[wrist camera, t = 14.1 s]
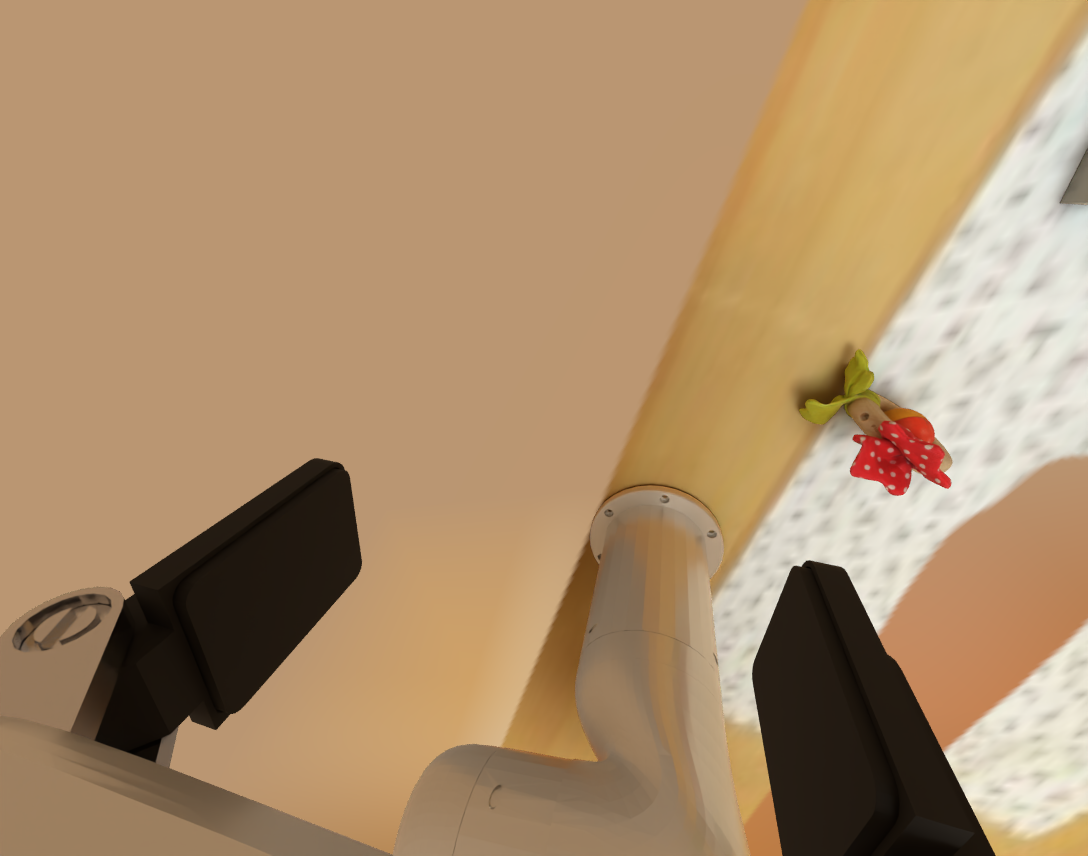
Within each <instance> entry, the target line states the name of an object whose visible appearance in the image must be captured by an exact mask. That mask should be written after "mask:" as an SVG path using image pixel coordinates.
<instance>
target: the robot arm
mask: <svg viewBox="0 0 1088 856" xmlns="http://www.w3.org/2000/svg"><path fill="white" fill-rule="evenodd" d="M663 495H666V496H663ZM609 509H610V510H609ZM590 545H591V549H592V552H593V555H594V557H595V559H596V561H597V563H598V564H599V569H598V574H597V578H596V583H595V588H594V593H593V597H592V602H591V607H590V612H589V617H588V621H587V626H586V631H585V636H584V640H583V645H582V650H581V655H580V659H579V665H578V670H577V675H576V682H575V700H576V706H577V712H578V716H579V719H580V722H581V725H582V728H583V730H584V733H585V735H586V737H587V739H588V741H589V744H590V746H591V748H592V750H593V752H594V753H595V755H596V757H597V759H598V762H593V761H585V760H578V759H574V760H571V759H565V758H560V757H554V756H549V755H543V754H537V753H532V752H526V751H521V750H515V749H510V748H502V747H496V746H488V745H477V744H467V745H461V746H456V747H454V748H451V749H448V750H446V751H445V752H443V753H442V754H440V755H439V756H438V757H436V758H435V759H434V760H433V761H432V762H431V763H430V765H429V766H428V767H427V768H426V769H425V771H424V772H423V774H422V775H421V777H420V779H419V780H418V782H417V784H416V785H415V787H414V789H413V791H412V794H411V796H410V798H409V801H408V803H407V806H406V808H405V811H404V814H403V817H402V820H401V823H400V827H399V830H398V834H397V838H396V842H395V847H394V851H393V855H392V854H389V853H387V852H384V851H382V850H379V849H376V848H374V847H371V846H369V845H366V844H363V843H361V842H359V841H356V840H353V839H351V838H348V837H346V836H343V835H341V834H338V833H335V832H333V831H330V830H328V829H325V828H323V827H320V826H318V825H315V824H312V823H310V822H307V821H304V820H302V819H299V818H297V817H294V816H292V815H289V814H287V813H284V812H282V811H279V810H276V809H274V808H271V807H269V806H266V805H263V804H261V803H258V802H256V801H253V800H250V799H247V798H245V797H243V796H240V795H237V794H235V793H232V792H230V791H227V790H224V789H222V788H219V787H217V786H214V785H211V784H209V783H206V782H203V781H201V780H198V779H196V778H193V777H191V776H188V775H185V774H183V773H180V772H178V771H175V770H172V769H170V768H169V766H170V762H171V758H172V753H173V749H174V744H175V740H176V735H177V731H178V726H179V725H180V724H181V723H182V722H183V721H184V720H185V719H186V718H187V717H188V716H190V718H191V720H192V722H195V723H198V724H201V725H204V726H206V727H209V728H212V729H214V730H216V729H218V727H219V726H220V725H221V724H222V723H223V722H224V721H225V720H226V718H227V717H228V716H229V715H230V714H233V713H236V712H238V711H239V710H241V708H243V707H244V705H246V703H247V702H248V701H249V700H250V699H251V698H252V696H253V695H254V694H255V693H256V692H257V691H258V690H259V689H260V687H261V686H262V685H263V684H264V683H265V682H266V681H267V679H268V678H269V677H270V676H271V675H272V674H273V673H274V671H275V670H276V669H277V668H278V667H279V666H280V665H281V663H282V662H283V661H284V660H285V659H286V658H287V656H288V655H289V654H290V653H291V652H292V651H293V650H294V649H295V647H296V646H297V645H298V644H299V643H300V642H301V641H302V639H303V638H304V637H305V636H306V635H307V634H308V633H309V631H310V630H311V629H312V628H313V627H314V626H315V625H316V623H317V622H318V621H319V620H320V619H321V618H322V617H323V615H324V614H325V613H326V612H327V611H328V610H329V609H330V607H331V606H332V605H333V604H334V603H335V602H336V600H337V599H338V598H339V597H340V596H341V595H342V594H343V593H344V591H345V590H346V589H347V588H348V587H349V586H350V585H351V583H352V582H353V581H354V580H355V579H356V577H357V576H358V574H359V572H360V570H361V566H362V559H361V552H360V545H359V538H358V532H357V524H356V517H355V511H354V503H353V496H352V490H351V483H350V476H349V474H348V472H347V471H345V470H344V467H343V465H342V464H340V463H338V462H333V461H328V460H323V459H318V458H316V459H312V460H310V461H308V462H307V463H305V464H304V465H302V466H301V467H299V468H298V469H296V470H295V471H293V472H292V473H291V474H289V475H288V476H286V477H285V478H283V479H282V480H280V481H279V482H277V483H276V484H274V485H273V486H271V487H270V488H268V489H267V490H265V491H264V492H263V493H261V494H259V495H258V496H256V497H255V498H253V499H252V500H251V501H249V502H247V503H246V504H244V505H243V506H241V507H240V508H238V509H237V510H236V511H234V512H233V513H231V514H230V515H228V516H227V517H225V518H224V519H222V520H221V521H219V522H218V523H216V524H215V525H213V526H212V527H210V528H209V529H207V530H206V531H204V532H203V533H201V534H200V535H198V536H197V537H195V538H194V539H192V540H191V541H189V542H188V543H187V544H185V545H184V546H182V547H180V548H179V549H177V550H176V551H175V552H173V553H172V554H170V555H169V556H167V557H166V558H164V559H163V560H161V561H160V562H158V563H157V564H155V565H154V566H152V567H151V568H149V569H148V570H146V571H145V572H144V573H142V574H140V575H139V576H137V577H136V578H134V579H133V580H131V581H130V584H131V586H132V589H133V591H134V593H135V594H134V595H132V596H131V597H129V598H128V599H127V600H125V599H124V598H123V596H122V594H121V593H120V591H117V590H115V589H113V588H108V587H93V588H86V589H80V590H77V591H73V592H70V593H66V594H63V595H61V596H58V597H56V598H53V599H51V600H49V601H46V602H44V603H43V604H41V605H39V606H37V607H35V608H34V609H32V610H30V611H28V612H27V613H25V614H24V615H23V616H22V617H20V618H19V619H17V620H16V621H15V622H14V623H12V624H11V625H10V627H9V628H8V629H7V630H6V631H5V632H4V633H3V634H2V636H1V637H0V856H751V855H750V851H749V847H748V843H747V839H746V835H745V832H744V827H743V823H742V819H741V814H740V810H739V806H738V802H737V797H736V792H735V787H734V782H733V777H732V771H731V765H730V759H729V753H728V746H727V739H726V731H725V723H724V715H723V706H722V696H721V687H720V678H719V668H718V658H717V649H716V639H715V629H714V619H713V610H712V600H711V590H710V580H709V579H711V578H712V576H713V575H714V574H715V573H716V571H717V570H718V568H719V566H720V564H721V561H722V558H723V552H724V546H723V537H722V533H721V529H720V526H719V524H718V522H717V520H716V518H715V517H714V516H713V514H712V513H711V512H710V510H709V509H708V508H707V507H706V506H704V505H703V504H702V503H701V502H700V501H698V500H697V499H695V498H694V497H692V496H690V495H689V494H686V493H684V492H682V491H679V490H677V489H673V488H668V487H664V486H652V485H648V486H637V487H633V488H630V489H626V490H623V491H621V492H619V493H617V494H615V495H613V496H612V497H611V498H609V499H608V500H606V501H605V502H604V503H603V505H602V506H601V507H600V508H599V509H598V511H597V513H596V515H595V516H594V519H593V522H592V526H591V531H590ZM752 680H753V687H754V693H755V699H756V704H757V710H758V716H759V722H760V727H761V733H762V739H763V745H764V751H765V756H766V762H767V768H768V774H769V780H770V785H771V791H772V797H773V802H774V808H775V814H776V820H777V826H778V832H779V837H780V843H781V848H782V855H783V856H996V855H995V853H994V851H993V850H992V848H991V846H990V844H989V842H988V840H987V838H986V836H985V834H984V832H983V830H982V828H981V826H980V824H979V822H978V820H977V818H976V816H975V814H974V812H973V810H972V808H971V806H970V804H969V802H968V800H967V798H966V796H965V794H964V792H963V790H962V788H961V786H960V784H959V782H958V780H957V778H956V776H955V774H954V772H953V770H952V769H951V767H950V765H949V763H948V761H947V759H946V757H945V755H944V753H943V751H942V749H941V747H940V745H939V743H938V741H937V739H936V737H935V735H934V733H933V731H932V729H931V727H930V725H929V723H928V721H927V719H926V717H925V715H924V713H923V711H922V709H921V707H920V705H919V703H918V702H917V699H916V697H915V696H914V693H913V691H912V690H911V688H910V686H909V684H908V682H907V680H906V678H905V676H904V674H903V672H902V670H901V668H900V667H899V665H898V664H897V662H896V661H895V660H894V659H893V658H892V657H891V656H889V655H887V653H886V652H885V649H884V647H883V645H882V643H881V641H880V639H879V637H878V635H877V633H876V631H875V629H874V627H873V625H872V623H871V621H870V619H869V617H868V615H867V613H866V610H865V608H864V606H863V604H862V602H861V600H860V598H859V596H858V594H857V592H856V590H855V588H854V586H853V584H852V582H851V580H850V578H849V576H848V574H847V572H846V571H845V569H843V568H842V567H838V566H834V565H829V564H824V563H819V562H814V561H810V560H809V561H806V562H805V563H804V564H803V565H802V567H800V566H794V567H793V568H792V569H791V571H790V573H789V576H788V578H787V581H786V583H785V586H784V588H783V591H782V593H781V596H780V598H779V601H778V603H777V606H776V608H775V610H774V613H773V615H772V618H771V620H770V623H769V625H768V628H767V630H766V633H765V635H764V638H763V640H762V643H761V645H760V648H759V650H758V653H757V655H756V658H755V660H754V664H753V670H752Z"/></svg>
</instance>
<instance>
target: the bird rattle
mask: <svg viewBox="0 0 1088 856" xmlns="http://www.w3.org/2000/svg"><path fill="white" fill-rule="evenodd" d="M873 381H874V374H873V372H871V371H869V368H868V360H867V358H866V356H865V355H864V353H863V351H862V350H861V349H858V350H857V351H856V352H855V357H853V358H852V359H851V360H850V362H849V364H848V366H847V368H846V369H845V384H844V390H845V391H844V392H845V395H838V396H837V397H835V398H834V399H833V400H832V401H831V403H830V404H826V405H825V404H822V403H820V402H818V401H817V400H815V399H808V400H807V401H806V403H805V406H806V408H804V409H803V408H801V409H800V410H799V412H800V414H801V415H802V417H803V418H805V419H806V420H808V421H810V422H812V423H815V424H825V423H826V422H827V421H828V420H829V419H830V418H831V417H832V416H834V415H835V414H836V413H837V412H838V410H839V409H840V407H841V406H842V405H843V404H844V409H845V411H846V413H847V414H848V415H849V416H850V417H852V418H853V420H854V421H855V422H856V424H857V425H858V426H859V427H860V428H861V430H862V431H863V432H864V433H865V434H866V435H854V436H853V440H854V441H855V442H857V443H858V444H861V445H862V447H861V449H860V451H859V453H858V455H857V457H856V459H855V460H854V462H853V464H852V466H851V468H850V473H851V475H852V476H854V477H858V478H864V479H868V480H874V481H879V482H881V483H882V484H883V485H884V486H885V488H886V490H887V491H888V492H889V493H890V494H892V495H897V496H899V495H903V494H905V493H906V491H907V489H908V488H909V485H910V481H911V471H912V470H913V471H915V472H917V473H920V474H922V475H923V476H924V477H925V478H926V479H928V480H930V481H932V482H934V483H936V484H938V485H940V486H942V487H944V488H947V489H949V487H950V486H951V483H952V482H951V479H950V478H949V477H948V476H947V475H946V474H945V473H944V472H946V471H947V470H948V469H949V468H950V467H951V465H952V459H951V456H950V455H949V453H948V452H947V450H946V449H945V448H944V446H943V445H942V444H941V443H940V442H939V441H938V440H937V439H936V438H935V437H934V435H935V433H934V429H933V427H932V425H931V423H930V422H929V421H928V420H927V419H926V417H924V416H923V415H922V414H920V413H918V412H916V411H914V410H911V409H905V408H900V407H899V406H897V405H896V404H894V403H893V402H891V401H889V400H888V399H886V398H884V397H882V396H880V395H878V394H876V393H874V392H873V391H871V390H868V388H869V387H870V386H871V384H872V383H873Z"/></svg>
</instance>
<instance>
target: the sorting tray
mask: <svg viewBox="0 0 1088 856" xmlns="http://www.w3.org/2000/svg"><path fill="white" fill-rule="evenodd" d="M1060 203H1064V204H1081V205H1088V149H1087V151H1086V153H1085V155H1084V157H1083V159H1082V161H1081V163H1080V165H1079V167H1078V169H1077V171H1076V173H1075V175H1074V177H1073V179H1072V181H1071V183H1070V185H1069V187H1068V189H1067V190H1066V192H1065V194H1064V196H1063V198H1062V200H1061V202H1060Z"/></svg>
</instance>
